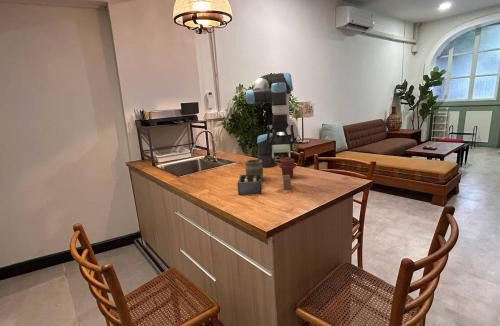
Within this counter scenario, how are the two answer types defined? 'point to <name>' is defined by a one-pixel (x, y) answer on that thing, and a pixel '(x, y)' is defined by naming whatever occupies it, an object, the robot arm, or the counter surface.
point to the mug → (254, 167)
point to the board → (281, 148)
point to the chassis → (249, 184)
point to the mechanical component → (287, 166)
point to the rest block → (287, 182)
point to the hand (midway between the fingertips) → (281, 157)
